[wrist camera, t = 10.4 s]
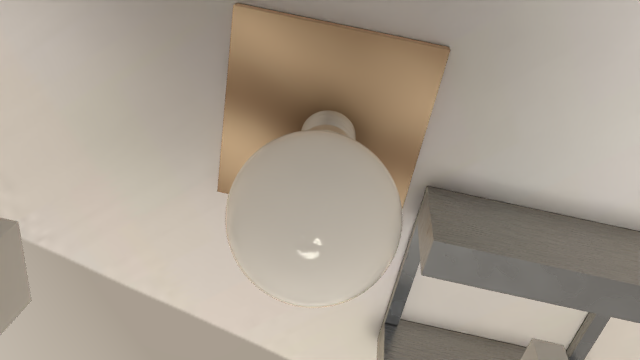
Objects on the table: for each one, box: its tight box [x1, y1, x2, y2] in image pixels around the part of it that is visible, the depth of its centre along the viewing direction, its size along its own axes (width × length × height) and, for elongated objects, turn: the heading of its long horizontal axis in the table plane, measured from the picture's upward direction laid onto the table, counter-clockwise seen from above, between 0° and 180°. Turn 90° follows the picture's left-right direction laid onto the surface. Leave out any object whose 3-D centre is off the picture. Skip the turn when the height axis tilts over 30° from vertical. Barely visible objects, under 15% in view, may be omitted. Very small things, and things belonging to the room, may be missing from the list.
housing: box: [377, 186, 640, 360], centre depth 27 cm, size 12×12×5 cm
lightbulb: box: [225, 110, 402, 308], centre depth 20 cm, size 6×6×11 cm
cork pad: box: [217, 3, 450, 208], centre depth 25 cm, size 10×10×1 cm
